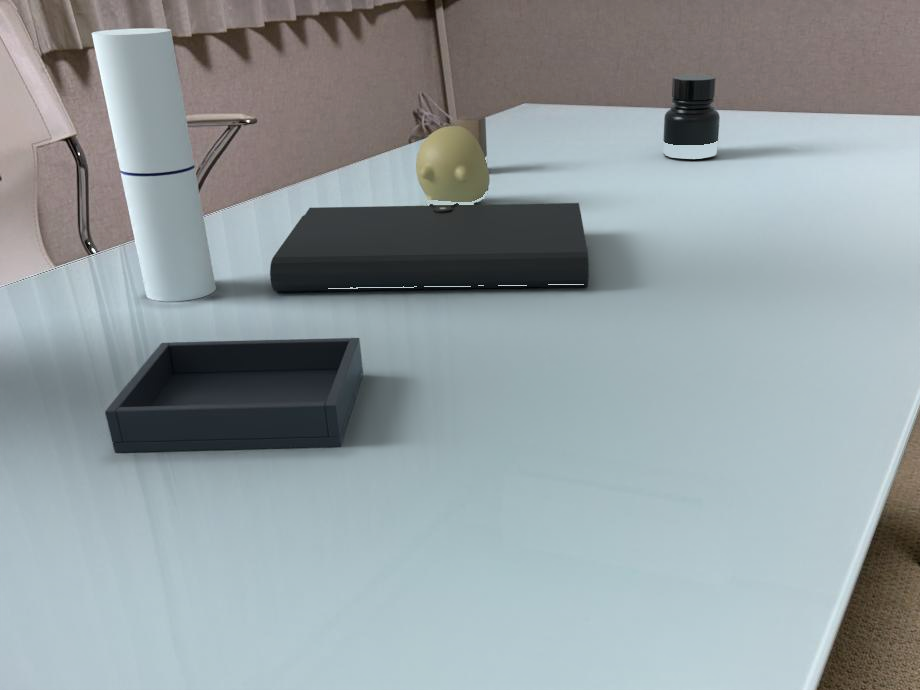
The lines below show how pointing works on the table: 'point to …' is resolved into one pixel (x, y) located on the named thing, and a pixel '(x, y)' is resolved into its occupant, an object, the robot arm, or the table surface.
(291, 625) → the table surface
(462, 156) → the tan rounded lump
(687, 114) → the ink bottle
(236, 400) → the tray
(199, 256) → the cylindrical container
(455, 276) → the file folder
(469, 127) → the wooden block
